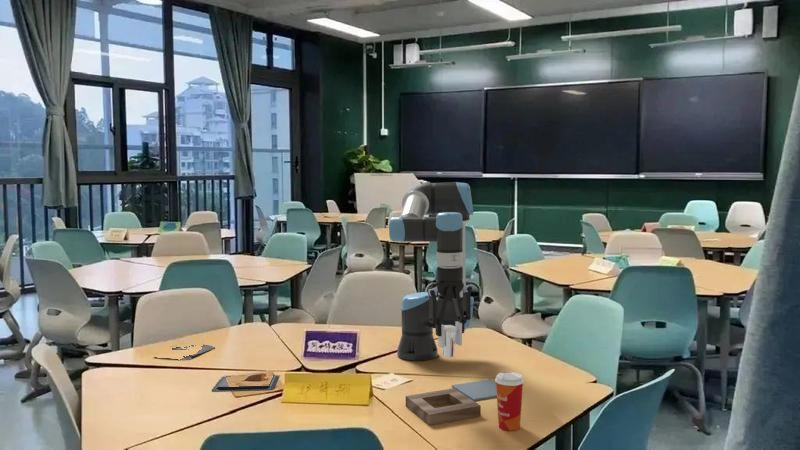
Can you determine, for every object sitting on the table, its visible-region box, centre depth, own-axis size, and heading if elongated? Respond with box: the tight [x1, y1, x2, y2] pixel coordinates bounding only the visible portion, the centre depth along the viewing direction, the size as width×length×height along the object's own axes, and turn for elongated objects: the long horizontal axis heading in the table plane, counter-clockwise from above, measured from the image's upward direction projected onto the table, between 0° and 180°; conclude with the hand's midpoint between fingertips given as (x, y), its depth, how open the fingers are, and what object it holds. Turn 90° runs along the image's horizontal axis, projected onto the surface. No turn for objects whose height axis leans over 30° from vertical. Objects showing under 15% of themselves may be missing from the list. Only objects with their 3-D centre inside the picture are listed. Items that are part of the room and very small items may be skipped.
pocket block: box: [405, 387, 482, 426], centre depth 183 cm, size 16×16×3 cm
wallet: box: [211, 374, 281, 393], centre depth 210 cm, size 20×2×15 cm
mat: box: [451, 378, 497, 402], centre depth 200 cm, size 14×14×1 cm
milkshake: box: [442, 323, 460, 359], centre depth 185 cm, size 4×5×10 cm
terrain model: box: [172, 344, 216, 361], centre depth 248 cm, size 20×15×3 cm
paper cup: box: [494, 371, 525, 432], centre depth 171 cm, size 8×8×14 cm
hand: (450, 345), depth 186 cm, fingers closed on milkshake, 5 cm apart
